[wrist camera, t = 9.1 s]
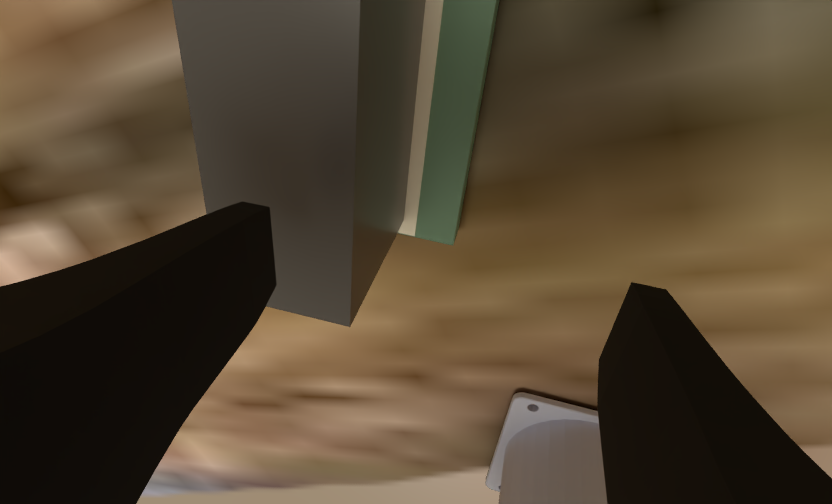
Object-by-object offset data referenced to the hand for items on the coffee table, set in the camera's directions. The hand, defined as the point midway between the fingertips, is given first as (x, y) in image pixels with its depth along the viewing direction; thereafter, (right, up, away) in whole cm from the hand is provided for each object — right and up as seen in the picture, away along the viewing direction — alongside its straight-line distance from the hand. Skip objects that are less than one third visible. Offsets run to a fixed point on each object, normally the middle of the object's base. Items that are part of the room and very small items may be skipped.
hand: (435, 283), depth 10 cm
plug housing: (-2, +7, +6) cm, 9 cm away
